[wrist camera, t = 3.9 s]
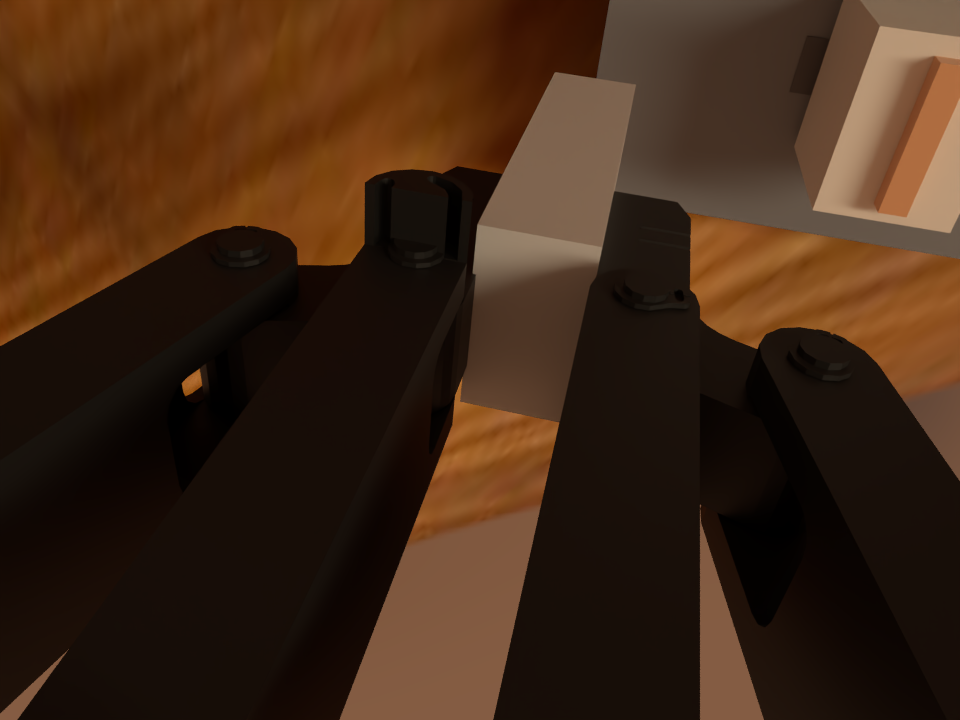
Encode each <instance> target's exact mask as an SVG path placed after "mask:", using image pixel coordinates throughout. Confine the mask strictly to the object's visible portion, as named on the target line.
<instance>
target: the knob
mask: <svg viewBox="0 0 960 720" xmlns="http://www.w3.org/2000/svg"><path fill="white" fill-rule="evenodd" d="M794 148H795V151H796V155H797V158H798V162H799V165H800V169H801V172H802V176H803V179H804V182H805V186H806V189H807V193H808V196H809V200H810V203H811V207H812V210H814V211H820V212H826V213H832V214H838V215H844V216H850V217H856V218H862V219H868V220H874V221H880V222H886V223H892V224H898V225H904V226H910V227H916V228H922V229H928V230H934V231H940V232H946V233H951V231H952V228H953V226H954V224H955V222H956V220H957V218H958V216H959V214H960V0H843V2H842V5H841V8H840V11H839V14H838V17H837V20H836V23H835V26H834V29H833V32H832V35H831V38H830V41H829V44H828V47H827V50H826V53H825V56H824V59H823V62H822V65H821V68H820V71H819V74H818V77H817V80H816V83H815V86H814V89H813V92H812V95H811V98H810V101H809V104H808V107H807V110H806V113H805V116H804V119H803V122H802V125H801V128H800V131H799V134H798V137H797V140H796V143H795V146H794Z"/></svg>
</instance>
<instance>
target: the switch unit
mask: <svg viewBox="0 0 960 720" xmlns="http://www.w3.org/2000/svg"><path fill="white" fill-rule="evenodd" d="M842 2H843V0H610V2H609V7H608V13H607V19H606V25H605V31H604V36H603V42H602V48H601V54H600V60H599V66H598V71H597V77H596V78H597V79H603V80H609V81H616V82H622V83H629V84H635V85H636V87H635V92H634V97H633V102H632V107H631V112H630V117H629V122H628V127H627V132H626V137H625V142H624V147H623V151H622V156H621V161H620V166H619V171H618V176H617V181H616V186H615V191H617V192H623V193H628V194H634V195H640V196H646V197H652V198H657V199H663V200H669V201H675V202H678V203H679V204H680V206H681V207H682V208H683V209H684V211H685V212H688V213H693V214H699V215H705V216H711V217H717V218H723V219H729V220H735V221H740V222H746V223H752V224H758V225H764V226H770V227H776V228H782V229H787V230H793V231H799V232H805V233H811V234H817V235H823V236H829V237H834V238H840V239H846V240H852V241H858V242H864V243H870V244H876V245H881V246H887V247H893V248H899V249H905V250H911V251H917V252H923V253H929V254H934V255H940V256H946V257H952V258H958V259H960V214H959V216H958V218H957V220H956V222H955V224H954V226H953V228H952V231H951V233H946V232H940V231H934V230H928V229H922V228H916V227H910V226H904V225H898V224H892V223H886V222H880V221H874V220H868V219H862V218H856V217H850V216H844V215H838V214H832V213H826V212H820V211H814V210H812V207H811V203H810V200H809V196H808V193H807V189H806V186H805V182H804V179H803V176H802V172H801V169H800V165H799V162H798V158H797V155H796V151H795V148H794V146H795V143H796V140H797V137H798V134H799V131H800V128H801V125H802V122H803V119H804V116H805V113H806V110H807V107H808V104H809V101H810V98H811V95H812V92H813V89H814V86H815V83H816V80H817V77H818V74H819V71H820V68H821V65H822V62H823V59H824V56H825V53H826V50H827V47H828V44H829V41H830V38H831V35H832V32H833V29H834V26H835V23H836V20H837V17H838V14H839V11H840V8H841V5H842Z"/></svg>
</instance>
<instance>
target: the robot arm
mask: <svg viewBox="0 0 960 720" xmlns="http://www.w3.org/2000/svg"><path fill="white" fill-rule="evenodd" d="M635 87H636V85H635V84H629V83H622V82H616V81H609V80H603V79H597V78H590V77H584V76H577V75H571V74H565V73H558V72H555V73H554V75H553V77H552V79H551V81H550V83H549V85H548V87H547V89H546V91H545V93H544V95H543V97H542V99H541V100H540V102H539V104H538V106H537V108H536V110H535V112H534V114H533V116H532V118H531V120H530V122H529V124H528V126H527V128H526V130H525V132H524V134H523V136H522V138H521V140H520V142H519V144H518V146H517V148H516V150H515V152H514V154H513V155H512V157H511V159H510V161H509V163H508V165H507V167H506V169H505V171H504V173H503V174H499V173H493V172H487V171H481V170H476V169H470V168H464V167H458V166H457V167H455V168H453V169H451V170H449V171H447V172H445V173H443V174H441V173H437V172H433V171H424V170H413V169H411V170H397V171H390V172H386V173H383V174H379V175H376V176H374V177H373V178H371V179H370V180H368V181H367V182H365V244H364V246H363V247H362V248H361V250H360V251H359V253H358V254H357V255H356V257H355V258H354V259H353V261H352V262H351V264H347V265H331V266H321V265H298V261H297V247H296V246H295V245H294V244H293V242H292V241H291V240H290V238H288V237H286V236H284V235H282V234H280V233H278V232H276V231H271V230H266V229H262V228H260V227H254V226H248V227H245V226H233V227H231V228H228V229H221V230H215V231H213V232H210V233H208V234H205V235H202V236H200V237H198V238H196V239H194V240H192V241H190V242H189V243H187V244H185V245H183V246H181V247H179V248H178V249H176V250H174V251H172V252H170V253H169V254H167V255H165V256H163V257H161V258H160V259H158V260H156V261H154V262H152V263H150V264H149V265H147V266H145V267H143V268H141V269H140V270H138V271H136V272H134V273H132V274H131V275H129V276H127V277H125V278H123V279H121V280H120V281H118V282H116V283H114V284H112V285H111V286H109V287H107V288H105V289H103V290H102V291H100V292H98V293H96V294H94V295H92V296H91V297H89V298H87V299H85V300H83V301H82V302H80V303H78V304H76V305H74V306H73V307H71V308H69V309H67V310H65V311H63V312H62V313H60V314H58V315H56V316H54V317H53V318H51V319H49V320H47V321H45V322H44V323H42V324H40V325H38V326H36V327H35V328H33V329H31V330H29V331H27V332H25V333H24V334H22V335H20V336H18V337H16V338H15V339H13V340H11V341H9V342H7V343H6V344H4V345H2V346H0V713H1V712H2V711H3V710H4V709H5V708H6V707H7V706H9V705H10V704H11V703H12V702H13V701H14V700H15V699H16V698H17V697H18V696H19V695H20V694H21V693H22V692H23V691H24V690H26V689H27V688H28V687H29V686H30V685H31V684H32V683H33V682H34V681H35V680H36V679H37V678H38V677H39V676H41V675H42V674H43V673H44V672H45V671H46V670H47V669H48V668H49V667H50V666H51V665H52V664H53V663H54V662H56V661H57V660H58V659H59V658H60V657H61V656H62V655H63V654H64V653H65V652H66V651H67V650H68V649H69V650H68V651H67V653H66V654H65V655H64V657H63V658H62V659H61V661H60V662H59V664H58V665H57V666H56V668H55V669H54V670H53V672H52V673H51V674H50V676H49V677H48V679H47V680H46V682H45V683H44V684H43V685H42V687H41V689H40V690H39V691H38V692H37V694H36V695H35V696H34V698H33V699H32V700H31V702H30V703H29V705H28V706H27V707H26V709H25V710H24V712H23V713H22V714H21V716H20V717H19V718H18V720H339V719H340V717H341V714H342V711H343V709H344V706H345V704H346V701H347V698H348V695H349V693H350V691H351V688H352V685H353V683H354V680H355V678H356V674H357V672H358V670H359V667H360V664H361V662H362V659H363V657H364V654H365V651H366V649H367V646H368V643H369V641H370V638H371V636H372V633H373V630H374V627H375V625H376V623H377V620H378V617H379V615H380V612H381V609H382V607H383V604H384V602H385V599H386V597H387V594H388V591H389V589H390V586H391V583H392V581H393V578H394V575H395V573H396V570H397V568H398V565H399V563H400V560H401V557H402V554H403V552H404V549H405V547H406V544H407V542H408V539H409V536H410V534H411V531H412V529H413V526H414V523H415V521H416V518H417V516H418V513H419V510H420V508H421V505H422V502H423V500H424V497H425V495H426V492H427V489H428V487H429V484H430V482H431V479H432V476H433V474H434V471H435V468H436V466H437V463H438V461H439V458H440V455H441V453H442V450H443V448H444V445H445V442H446V440H447V437H448V435H449V432H450V429H451V427H452V422H453V411H454V400H455V394H456V392H457V389H458V387H459V384H460V382H461V379H462V377H463V379H462V389H461V400H460V402H465V403H470V404H475V405H479V406H484V407H489V408H494V409H498V410H503V411H508V412H513V413H517V414H522V415H527V416H532V417H536V418H541V419H546V420H551V421H555V422H560V423H559V427H558V432H557V436H556V441H555V445H554V450H553V454H552V459H551V463H550V468H549V472H548V477H547V481H546V486H545V490H544V495H543V499H542V504H541V508H540V513H539V517H538V522H537V526H536V531H535V535H534V540H533V544H532V549H531V553H530V558H529V562H528V566H527V571H526V575H525V580H524V585H523V589H522V594H521V598H520V602H519V607H518V611H517V616H516V620H515V625H514V629H513V634H512V638H511V643H510V648H509V652H508V656H507V661H506V665H505V670H504V674H503V679H502V683H501V688H500V692H499V697H498V701H497V706H496V710H495V715H494V719H493V720H700V510H701V523H702V527H703V530H704V533H705V536H706V539H707V542H708V545H709V548H710V552H711V555H712V558H713V561H714V564H715V567H716V570H717V574H718V577H719V580H720V583H721V586H722V589H723V592H724V596H725V599H726V602H727V605H728V608H729V611H730V614H731V618H732V620H733V624H734V627H735V630H736V633H737V636H738V640H739V643H740V646H741V649H742V652H743V655H744V658H745V661H746V664H747V668H748V671H749V674H750V677H751V680H752V683H753V686H754V689H755V693H756V696H757V699H758V702H759V705H760V709H761V712H762V715H763V718H764V720H960V481H959V480H958V478H957V477H956V475H955V474H954V472H953V471H952V469H951V468H950V467H949V465H948V464H947V462H946V461H945V460H944V458H943V457H942V455H941V454H940V452H939V451H938V450H937V448H936V447H935V445H934V444H933V442H932V441H931V440H930V438H929V437H928V435H927V434H926V432H925V431H924V429H923V428H922V427H921V425H920V424H919V422H918V421H917V420H916V418H915V417H914V415H913V414H912V412H911V411H910V409H909V408H908V407H907V405H906V404H905V402H904V401H903V399H902V398H901V397H900V395H899V394H898V392H897V391H896V389H895V388H894V387H893V385H892V384H891V382H890V381H889V379H888V378H887V376H886V375H885V374H884V372H883V371H882V369H881V368H880V366H879V365H878V364H877V363H876V362H875V361H874V360H873V359H872V358H871V357H870V356H869V355H868V354H867V353H866V352H865V351H864V350H862V349H860V348H859V347H857V346H855V345H854V344H852V343H850V342H849V341H847V340H846V339H845V338H843V337H840V336H838V335H836V334H833V335H832V334H831V333H830V332H826V331H823V330H818V329H817V330H813V329H807V328H801V327H796V328H780V329H777V330H775V331H773V332H770V333H768V334H766V335H765V337H764V338H763V340H762V341H761V343H760V344H759V347H758V349H755V348H753V347H750V346H748V345H745V344H742V343H740V342H737V341H735V340H732V339H730V338H728V337H726V336H724V335H722V334H720V333H718V332H716V331H715V330H713V329H712V328H710V327H709V326H707V325H706V324H705V323H704V322H703V321H702V320H701V319H700V306H699V303H698V300H697V298H696V295H695V294H694V293H693V292H692V291H691V290H690V235H691V218H690V217H689V216H688V214H687V213H686V212H685V211H684V209H683V208H682V207H681V206H680V204H679V203H678V202H675V201H669V200H663V199H657V198H652V197H646V196H640V195H634V194H628V193H623V192H617V191H615V186H616V181H617V176H618V171H619V166H620V161H621V156H622V151H623V147H624V142H625V137H626V132H627V127H628V122H629V117H630V112H631V107H632V102H633V97H634V92H635ZM199 368H200V373H201V379H202V386H201V387H200V388H199V389H197V390H196V391H195V392H193V393H192V394H190V395H187V396H185V395H184V393H183V389H182V382H183V381H184V380H185V379H186V378H187V377H188V376H190V375H191V374H192V373H194V372H195V371H197V370H198V369H199ZM700 505H701V508H700Z"/></svg>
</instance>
